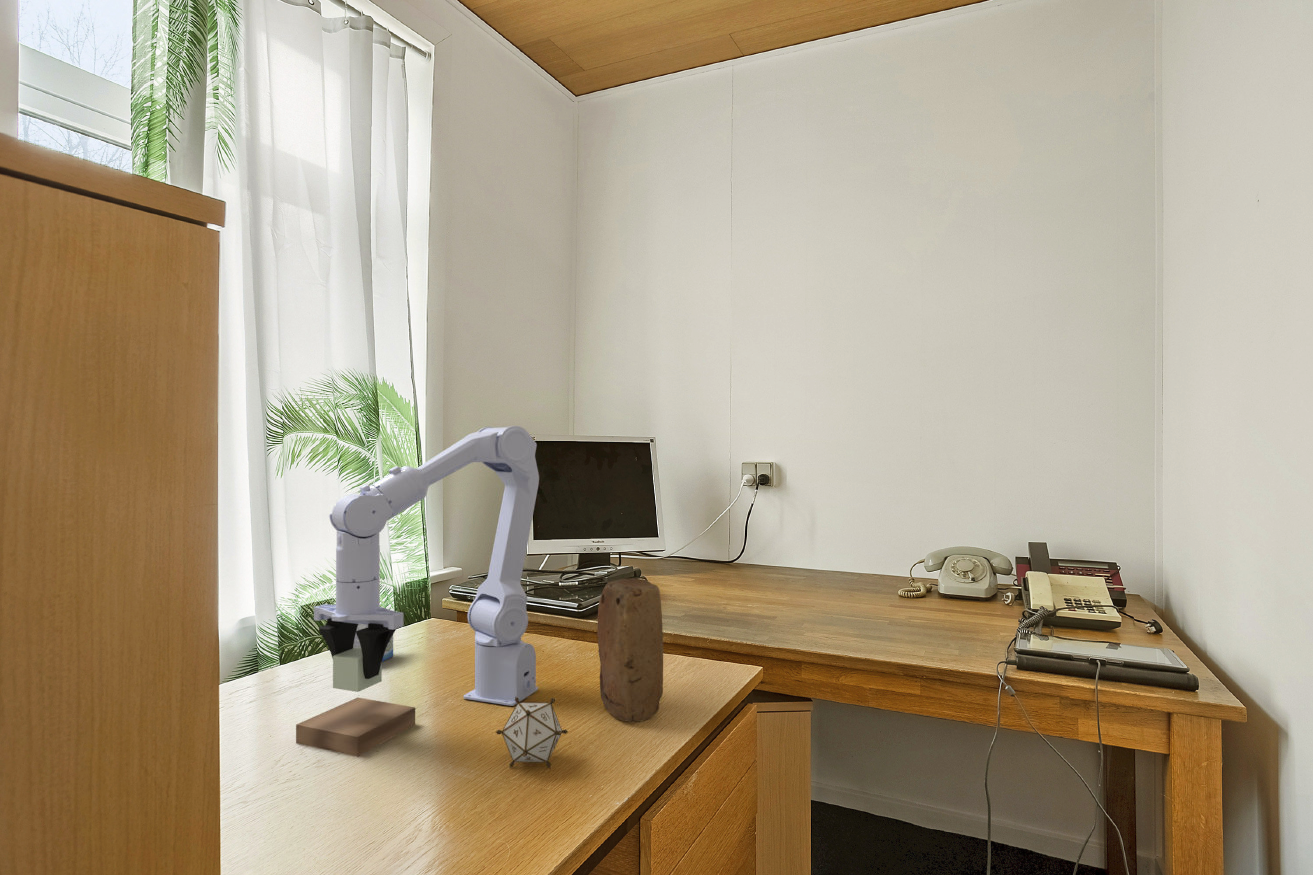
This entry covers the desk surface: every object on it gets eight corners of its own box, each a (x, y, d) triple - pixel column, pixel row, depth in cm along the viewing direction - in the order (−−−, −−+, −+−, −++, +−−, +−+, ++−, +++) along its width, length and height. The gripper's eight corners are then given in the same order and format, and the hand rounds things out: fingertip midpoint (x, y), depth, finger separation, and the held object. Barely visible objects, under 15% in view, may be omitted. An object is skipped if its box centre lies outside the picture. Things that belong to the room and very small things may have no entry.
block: (667, 718, 103) (667, 585, 103) (623, 729, 99) (623, 590, 99) (633, 695, 112) (633, 573, 112) (591, 704, 108) (591, 577, 108)
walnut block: (415, 727, 100) (415, 707, 100) (357, 759, 90) (357, 736, 90) (357, 717, 104) (357, 697, 104) (295, 746, 94) (296, 724, 94)
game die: (535, 798, 86) (524, 757, 80) (490, 759, 91) (477, 717, 85) (583, 744, 92) (576, 702, 86) (538, 709, 96) (529, 667, 90)
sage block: (381, 681, 99) (381, 650, 99) (357, 691, 94) (358, 659, 95) (357, 677, 100) (357, 646, 100) (332, 687, 96) (333, 655, 96)
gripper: (296, 580, 96) (295, 677, 96) (377, 588, 91) (377, 690, 91) (335, 571, 103) (335, 662, 103) (413, 578, 98) (413, 673, 98)
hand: (357, 674), depth 97 cm, fingers closed on sage block, 4 cm apart
